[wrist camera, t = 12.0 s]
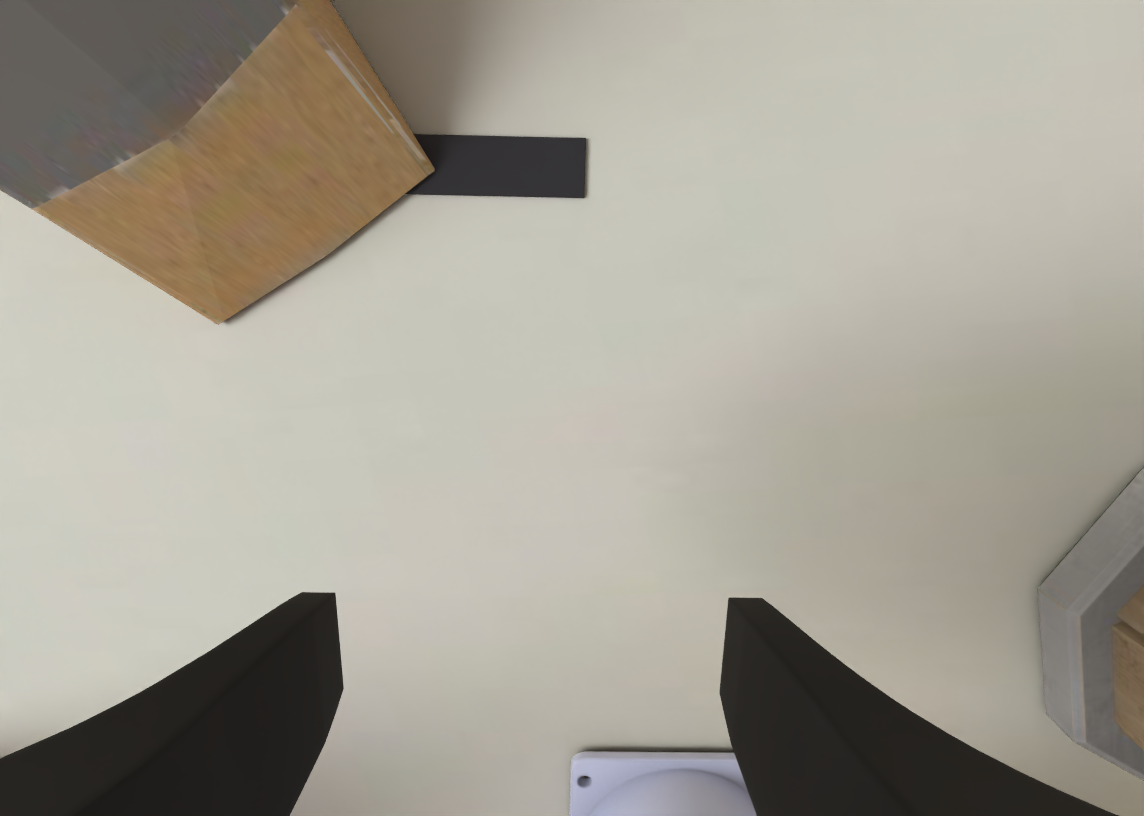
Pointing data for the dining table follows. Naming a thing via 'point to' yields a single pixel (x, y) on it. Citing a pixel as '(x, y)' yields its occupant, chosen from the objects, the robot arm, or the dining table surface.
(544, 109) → the dining table surface
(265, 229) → the sandwich container
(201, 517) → the dining table surface
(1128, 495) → the tankard
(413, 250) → the dining table surface
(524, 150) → the tape line
